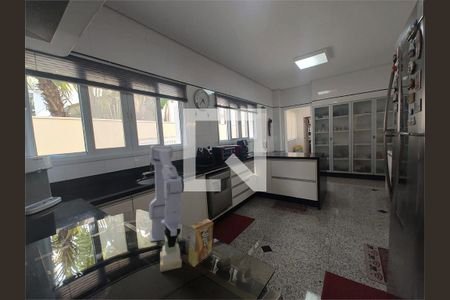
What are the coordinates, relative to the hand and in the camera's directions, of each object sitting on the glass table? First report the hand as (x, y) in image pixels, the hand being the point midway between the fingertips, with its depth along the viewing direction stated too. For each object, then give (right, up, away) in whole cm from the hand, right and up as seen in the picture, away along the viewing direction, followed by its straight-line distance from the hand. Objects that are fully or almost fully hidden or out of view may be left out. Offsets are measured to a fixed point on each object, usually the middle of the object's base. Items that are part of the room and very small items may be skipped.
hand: (171, 243), depth 66 cm
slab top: (0, -5, 0) cm, 5 cm away
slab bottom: (0, -8, +1) cm, 8 cm away
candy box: (+11, -9, +3) cm, 14 cm away
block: (0, -2, 0) cm, 2 cm away
